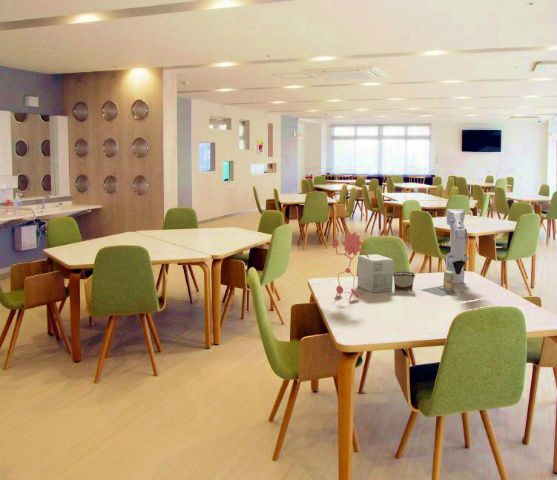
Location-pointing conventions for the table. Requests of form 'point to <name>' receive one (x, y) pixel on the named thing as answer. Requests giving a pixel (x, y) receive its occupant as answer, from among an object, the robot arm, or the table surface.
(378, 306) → the table surface
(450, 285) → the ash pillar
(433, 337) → the table surface
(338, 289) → the figurine
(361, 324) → the table surface
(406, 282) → the food container
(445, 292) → the mat
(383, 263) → the supplement box
